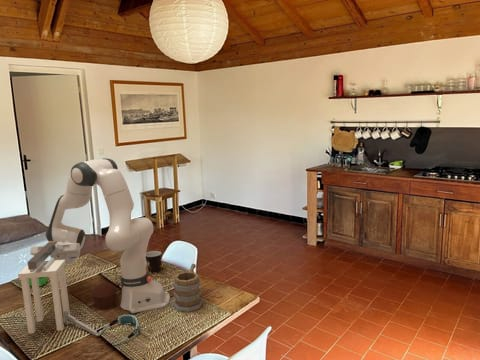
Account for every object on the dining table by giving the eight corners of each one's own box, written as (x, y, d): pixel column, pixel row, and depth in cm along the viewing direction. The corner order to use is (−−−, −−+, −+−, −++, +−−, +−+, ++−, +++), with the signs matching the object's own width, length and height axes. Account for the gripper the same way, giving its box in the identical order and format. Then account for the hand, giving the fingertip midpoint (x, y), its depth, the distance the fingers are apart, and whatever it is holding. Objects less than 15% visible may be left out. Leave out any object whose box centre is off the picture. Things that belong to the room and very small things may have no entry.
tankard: (197, 313, 165) (195, 280, 162) (169, 310, 167) (167, 279, 165) (209, 291, 184) (208, 262, 181) (185, 290, 186) (183, 261, 184)
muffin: (123, 300, 178) (121, 280, 176) (109, 312, 167) (107, 291, 166) (101, 297, 181) (99, 278, 179) (86, 309, 170) (84, 288, 169)
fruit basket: (50, 281, 201) (48, 261, 199) (40, 289, 192) (37, 268, 190) (30, 281, 202) (28, 261, 200) (19, 288, 193) (16, 268, 191)
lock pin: (57, 247, 168) (56, 240, 167) (36, 268, 144) (35, 261, 144) (50, 247, 167) (49, 241, 167) (28, 269, 144) (27, 262, 143)
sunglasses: (146, 331, 152) (144, 321, 151) (114, 354, 141) (111, 343, 140) (127, 319, 161) (124, 309, 160) (95, 340, 151) (92, 329, 149)
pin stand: (71, 315, 166) (64, 256, 161) (63, 330, 154) (55, 267, 149) (37, 318, 164) (29, 258, 159) (26, 334, 152) (17, 270, 147)
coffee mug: (145, 268, 213) (144, 252, 211) (161, 266, 216) (160, 250, 214) (147, 277, 202) (146, 259, 200) (163, 274, 205) (162, 257, 203)
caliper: (63, 324, 159) (62, 310, 158) (65, 323, 160) (64, 309, 159) (97, 336, 150) (96, 322, 148) (99, 335, 150) (98, 321, 149)
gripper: (37, 247, 176) (25, 241, 163) (83, 243, 178) (74, 237, 166) (36, 260, 174) (23, 256, 161) (82, 256, 176) (74, 251, 163)
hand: (49, 246), depth 163 cm, fingers closed on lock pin, 3 cm apart
